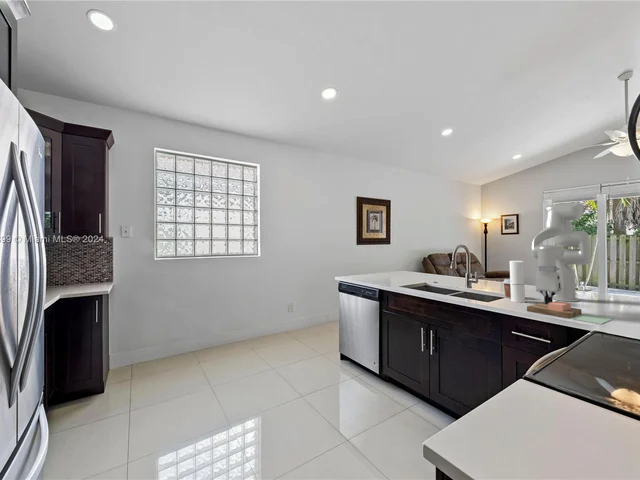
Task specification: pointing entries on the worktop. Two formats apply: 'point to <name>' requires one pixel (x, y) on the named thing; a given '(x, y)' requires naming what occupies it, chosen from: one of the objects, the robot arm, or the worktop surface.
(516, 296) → the cylindrical container
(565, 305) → the pink rectangular block
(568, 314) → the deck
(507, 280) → the coffee cup
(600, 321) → the mat
